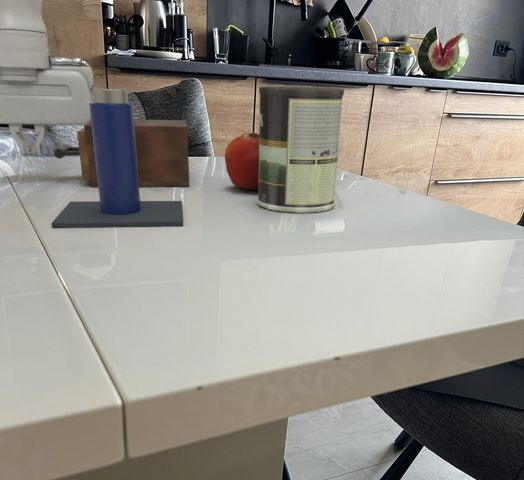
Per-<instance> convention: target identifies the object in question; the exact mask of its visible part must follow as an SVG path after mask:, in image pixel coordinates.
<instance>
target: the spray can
mask: <svg viewBox="0 0 524 480" xmlns="http://www.w3.org/2000/svg"><path fill="white" fill-rule="evenodd" d="M92 96H93V100H94V103H90V104H89V106H90V115H91V124H92V133H93V143H94V152H95V161H96V170H97V180H98V187H97V188H98V198H99V201H100V207H101V212H102V213H105V214H112V215H125V214H133V213H137V212H139V211H141V206H140V201H141V196H140V187H139V180H138V167H137V154H136V141H135V128H134V120H135V118H134V117H135V115H134V104H133V103H129V99H128V98H129V97H128V89H120V88H119V89H117V88H116V89H115V88H93V89H92Z"/></svg>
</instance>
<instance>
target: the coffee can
mask: <svg viewBox="0 0 524 480" xmlns="http://www.w3.org/2000/svg"><path fill="white" fill-rule="evenodd" d="M258 93H259V126H258V127H259V129H258V130H259V131H258V134H259V189H258V197H257V198H258V199H257V205H258V206H259V207H260V208H263V209H266V210H269V211H275V212H280V213H295V214H297V213H298V214H304V213H305V214H307V213H308V214H309V213H310V214H311V213H320V212H326V211H330V210H332V209H334V208H335V196H336V195H335V194H336V180H337V169H338V158H339V157H338V156H339V145H340V144H339V143H340V129H341V117H342V106H343V96H344V95H345V94H344V93H345V89H344V88H339V87H309V86H308V87H307V86H306V87H305V86H259V87H258Z"/></svg>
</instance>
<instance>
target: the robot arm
mask: <svg viewBox="0 0 524 480" xmlns="http://www.w3.org/2000/svg"><path fill="white" fill-rule="evenodd" d="M43 2H44V0H0V124H1V125H8V129H9V133H10V134H11V136H12V137H13V138H14V140H15V141H16V142H17V144H18V145H19V149H20V154H21V156H22V157H43V156H44V149H43V144H44V142H45V139H46V136H47V134H48V130H49V129H48V126H84V125H86V124H88V123H91V115H90V106H89V104H90V103H94V98H93V89H94V87H95V77H94V70H93V68H92V67H91V65H90V64H89V63H88V62H86V61H85V60H84V61H83V59H82V58H80V57H63V56H51V51H50V44H49V35H48V30H47V27H46V23H45V21H44V17H43V4H44V3H43ZM23 125H34V131H35V133H38V135H37V138H36V140H35V142H27V141H26V139H25V138H24V137H23V135H22V133H21V132H23V130H24V129H23Z"/></svg>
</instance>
